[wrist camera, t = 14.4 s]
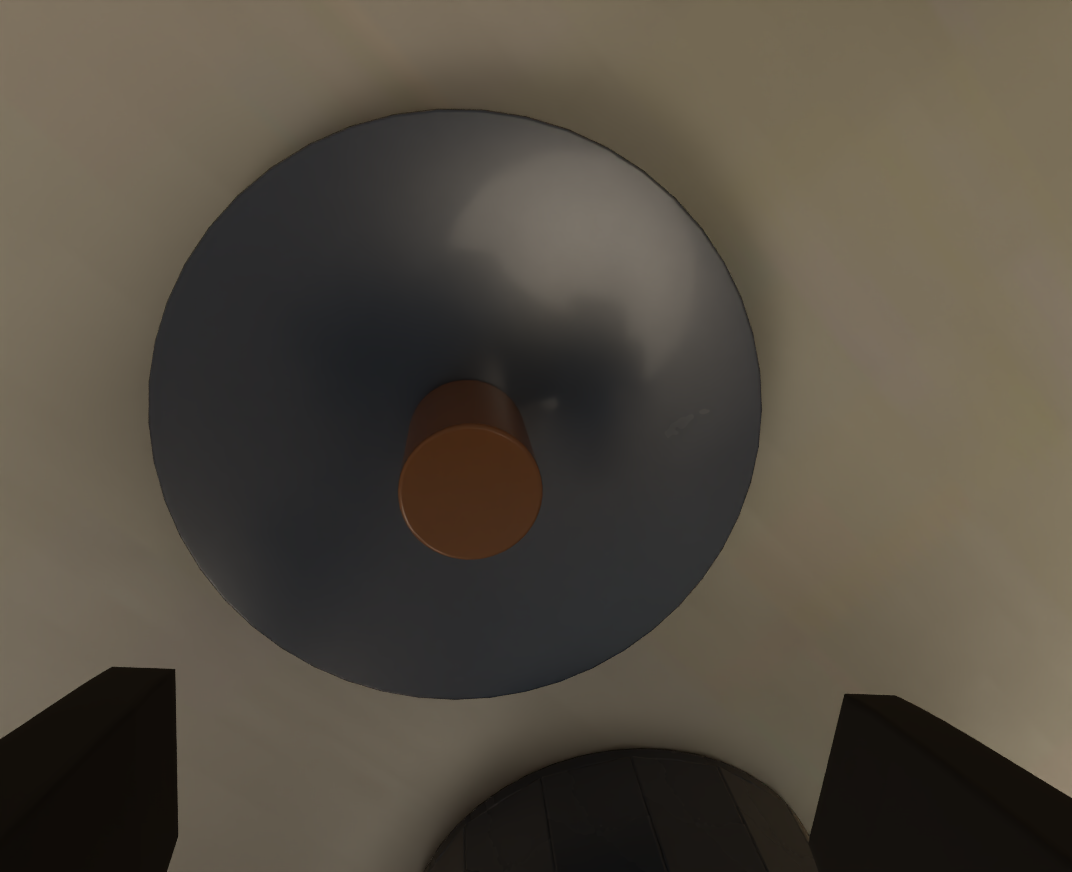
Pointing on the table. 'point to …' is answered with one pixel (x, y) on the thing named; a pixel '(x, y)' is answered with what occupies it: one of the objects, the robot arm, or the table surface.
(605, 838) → the pot
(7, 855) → the robot arm
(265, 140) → the table surface
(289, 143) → the table surface
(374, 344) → the pot lid
